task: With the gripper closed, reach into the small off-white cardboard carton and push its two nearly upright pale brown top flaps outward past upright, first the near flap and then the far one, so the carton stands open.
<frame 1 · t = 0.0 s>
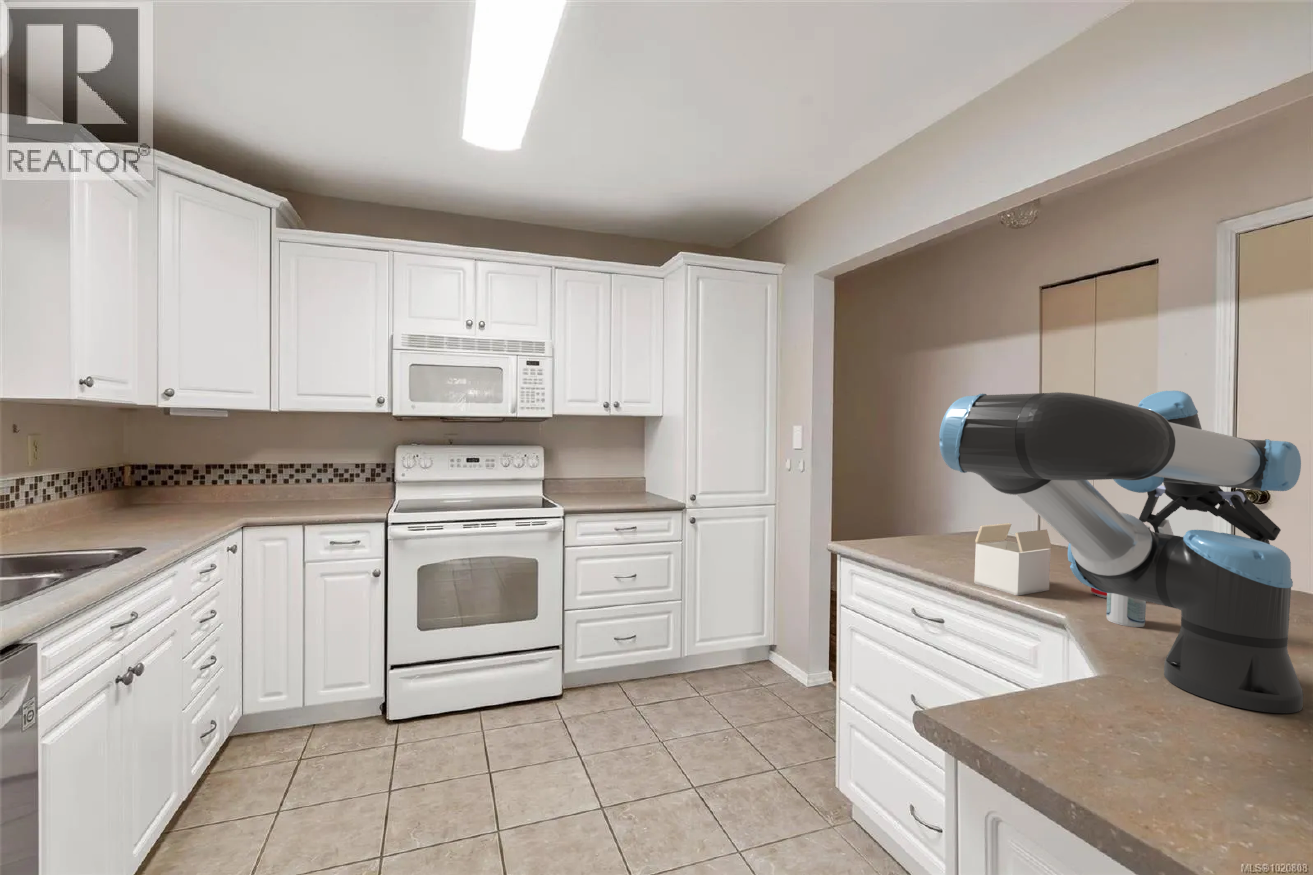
hand: (1214, 555, 114), 15 cm above the countertop, tool tilted 35°, fingers open, 13 cm apart
beverage can: (1107, 597, 139), on the countertop
near flap: (1033, 540, 141), point 12 cm above the countertop, hinge at 72.0°
spray can: (1125, 622, 121), on the countertop
carton: (1011, 586, 145), on the countertop
far flap: (993, 532, 150), point 12 cm above the countertop, hinge at 72.0°
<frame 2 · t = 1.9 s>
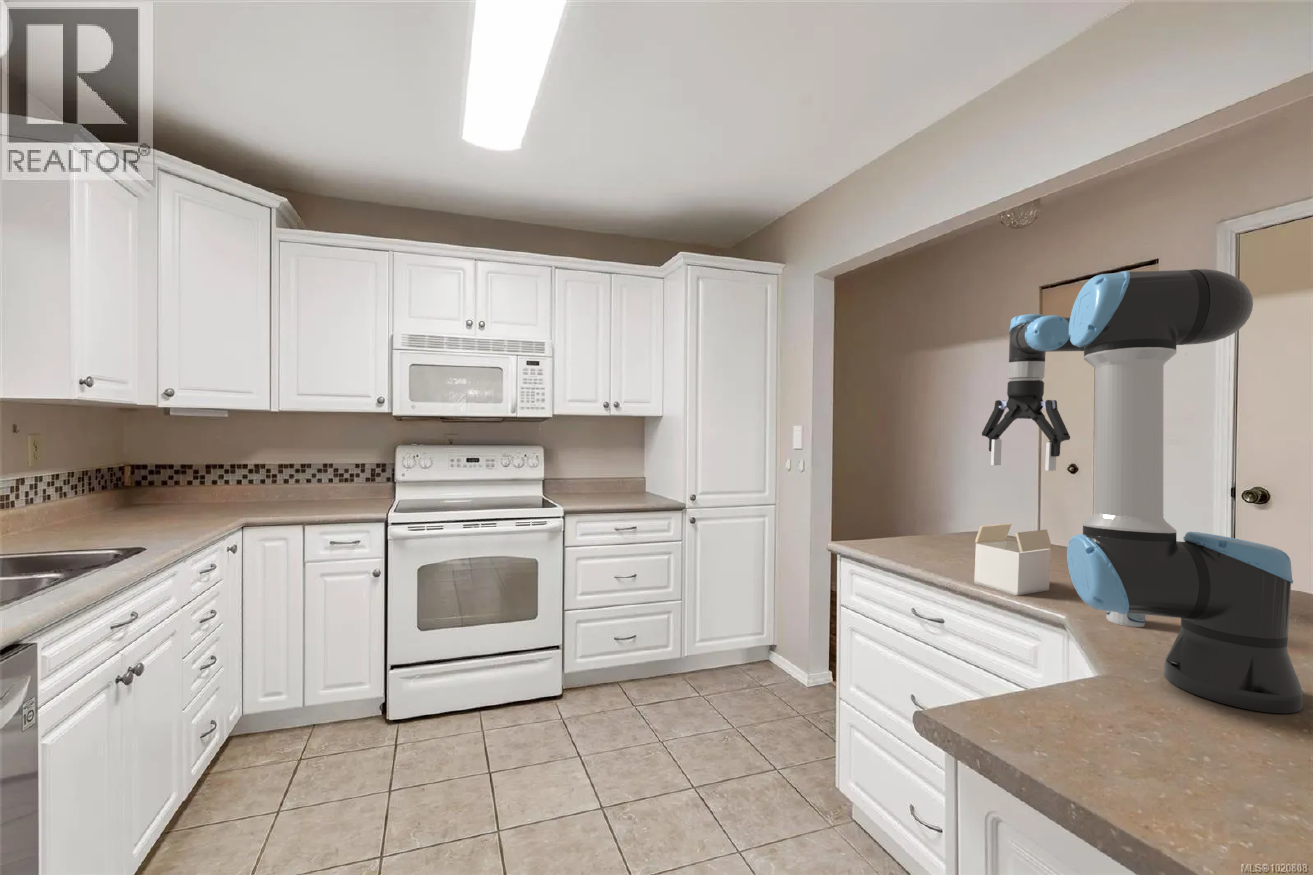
hand: (1021, 467, 144), 29 cm above the countertop, tool pointing down, fingers open, 13 cm apart
nothing on the countertop moved.
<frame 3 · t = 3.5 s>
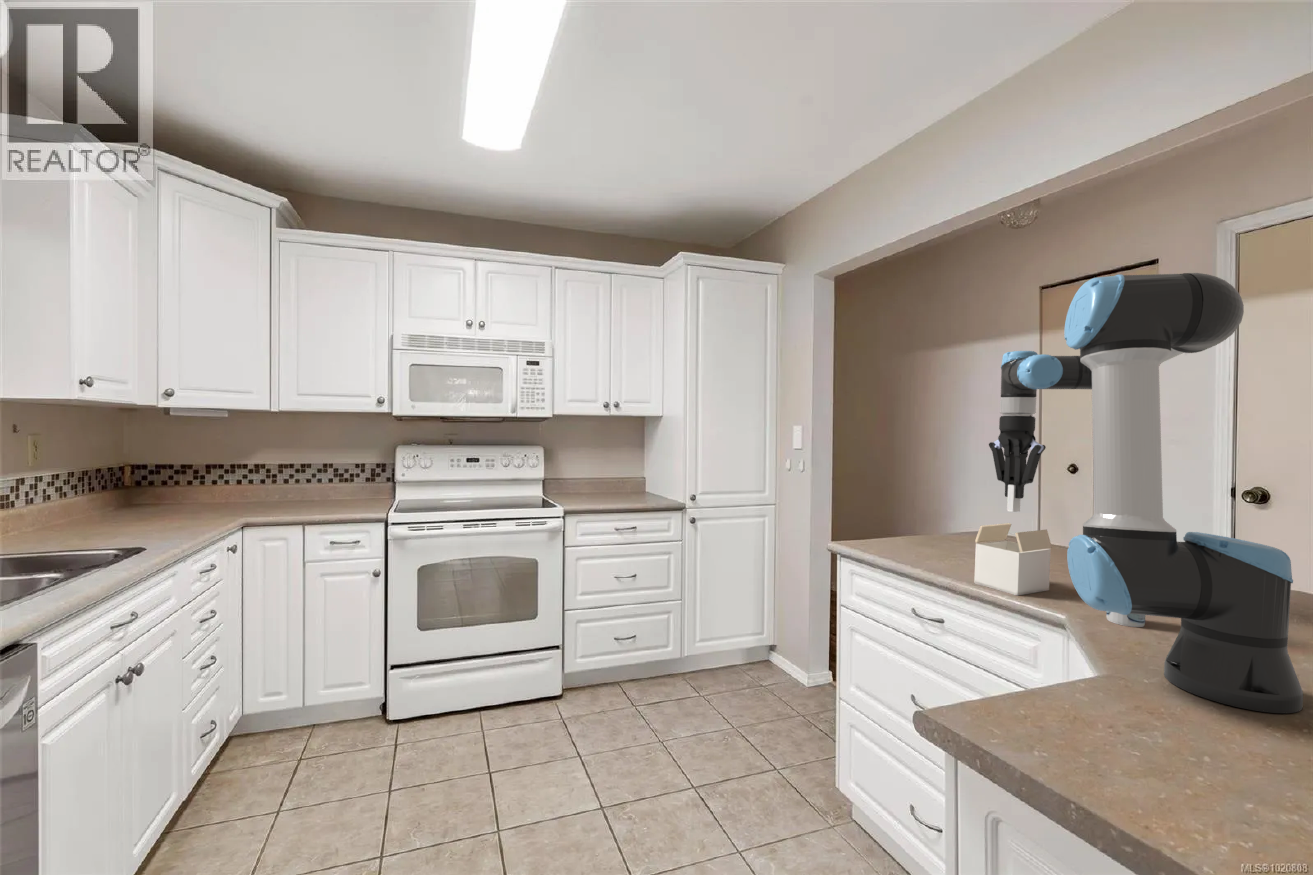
hand: (1013, 511, 145), 19 cm above the countertop, tool pointing down, fingers closed
nothing on the countertop moved.
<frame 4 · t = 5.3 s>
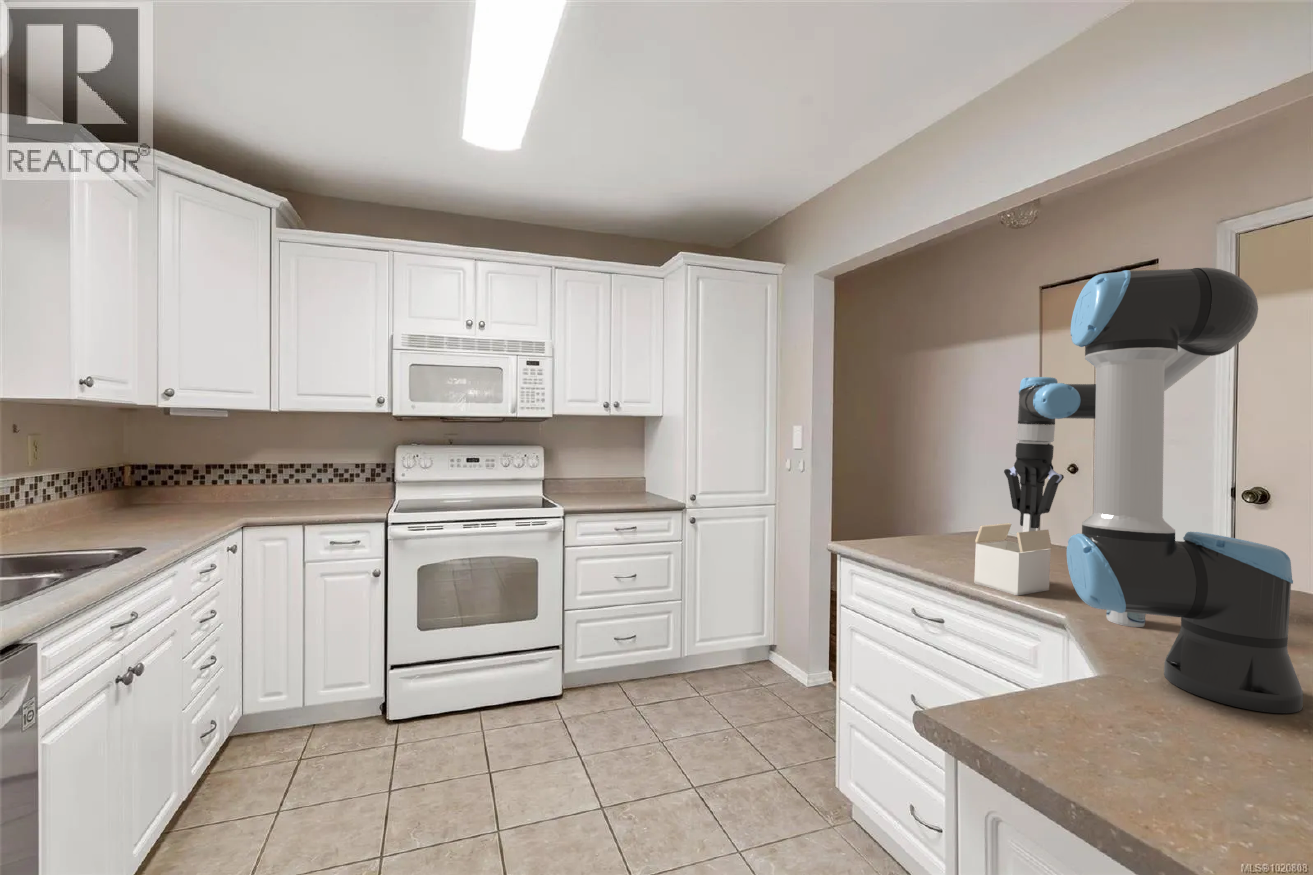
hand: (1028, 540, 141), 12 cm above the countertop, tool pointing down, fingers closed
near flap: (1034, 540, 140), point 12 cm above the countertop, hinge at 76.4°, touching gripper
everything else where it was.
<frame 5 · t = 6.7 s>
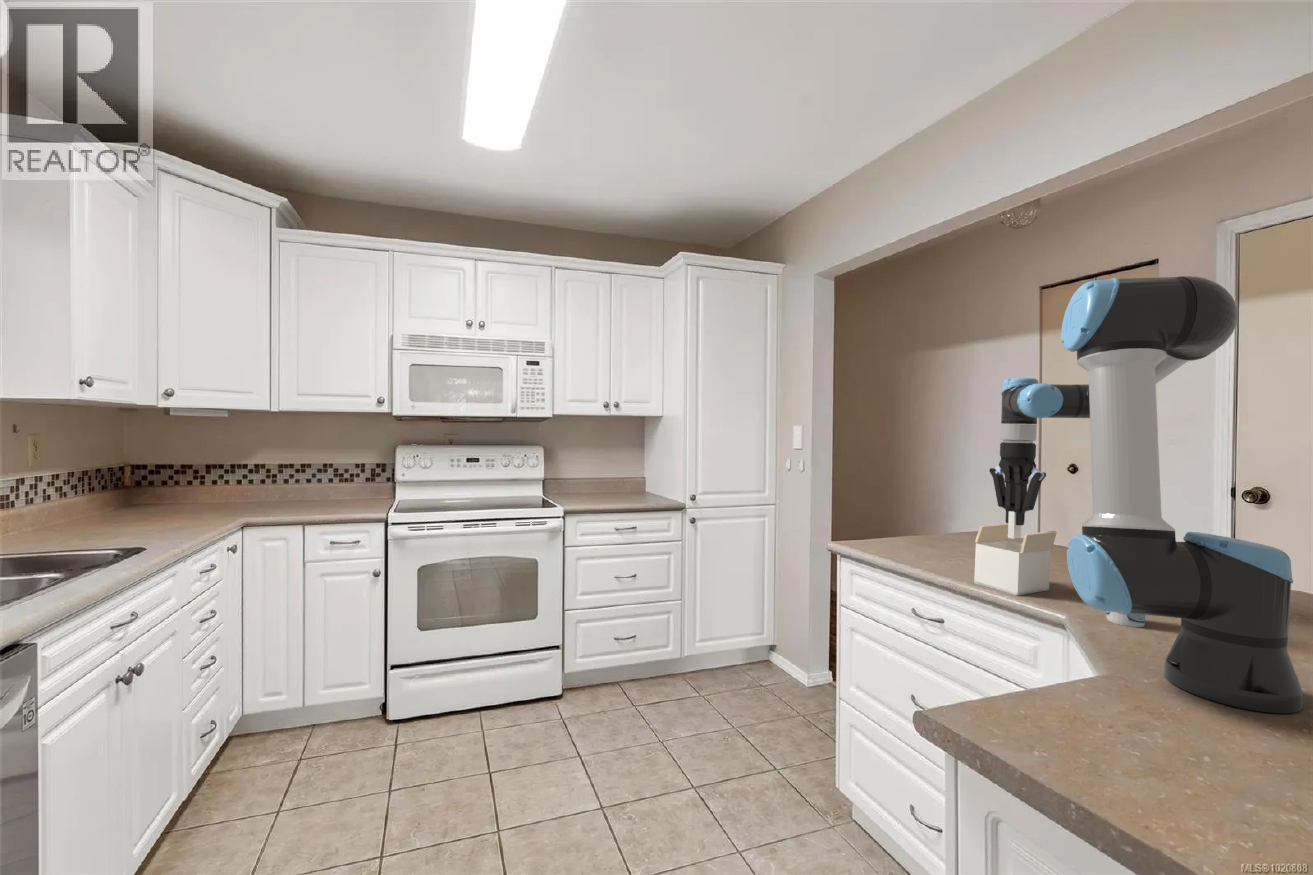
hand: (1014, 537, 145), 12 cm above the countertop, tool pointing down, fingers closed
near flap: (1038, 541, 139), point 12 cm above the countertop, hinge at 101.5°
everything else where it was.
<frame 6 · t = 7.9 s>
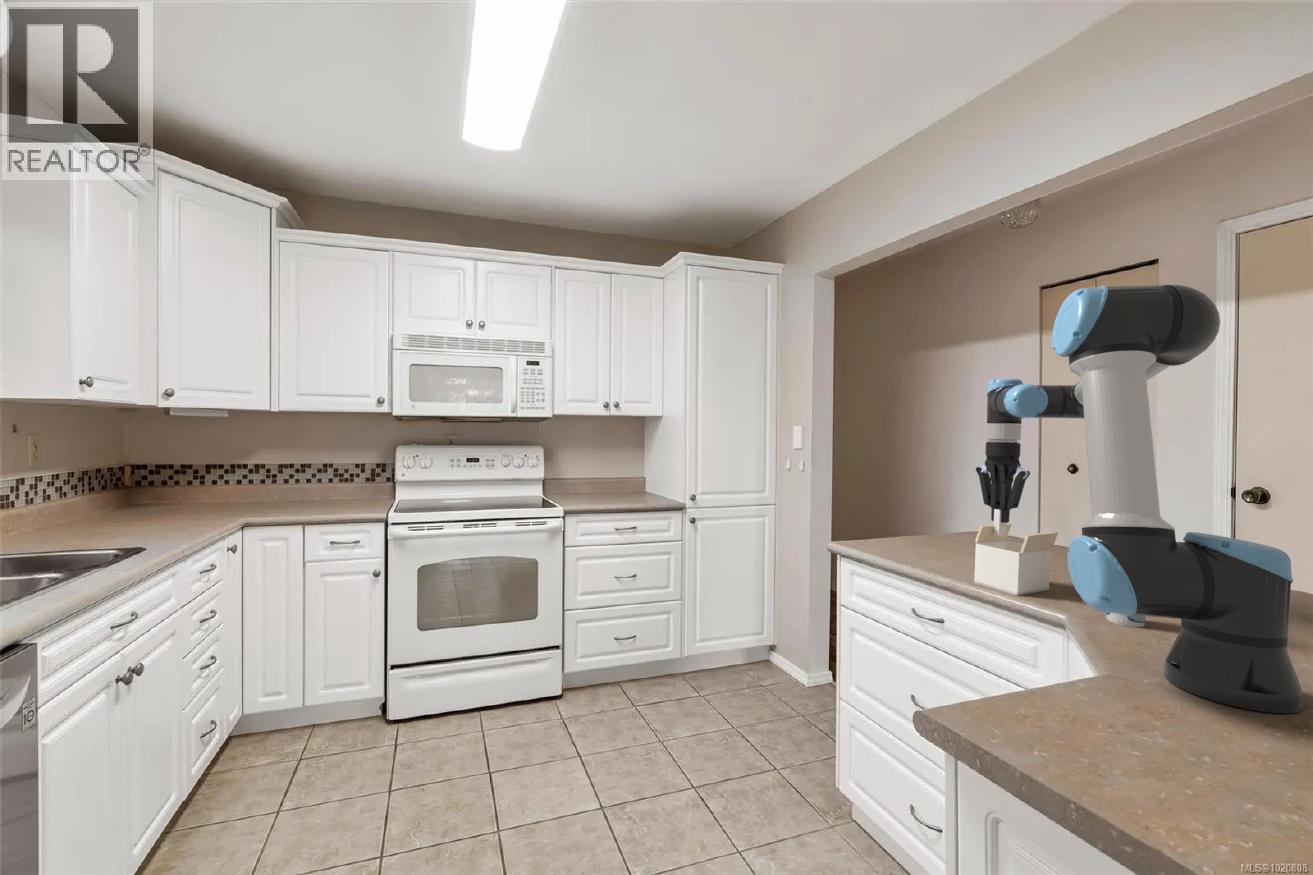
hand: (999, 534, 148), 12 cm above the countertop, tool pointing down, fingers closed
near flap: (1039, 542, 139), point 12 cm above the countertop, hinge at 106.1°
far flap: (993, 532, 150), point 12 cm above the countertop, hinge at 72.0°, touching gripper
everything else where it was.
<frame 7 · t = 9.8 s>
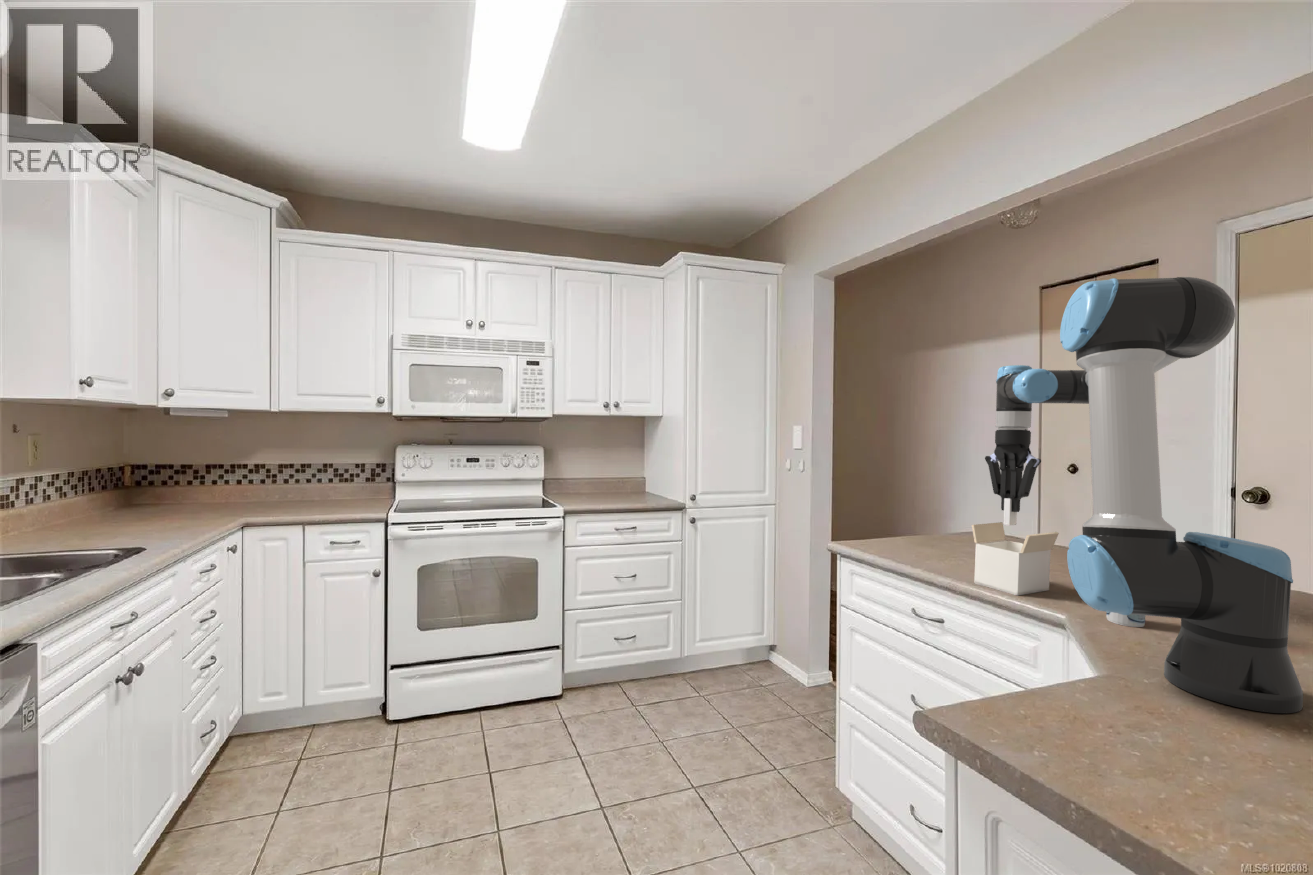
hand: (1009, 524, 146), 15 cm above the countertop, tool pointing down, fingers closed
near flap: (1039, 542, 139), point 12 cm above the countertop, hinge at 108.0°
far flap: (988, 532, 151), point 12 cm above the countertop, hinge at 103.3°
everything else where it was.
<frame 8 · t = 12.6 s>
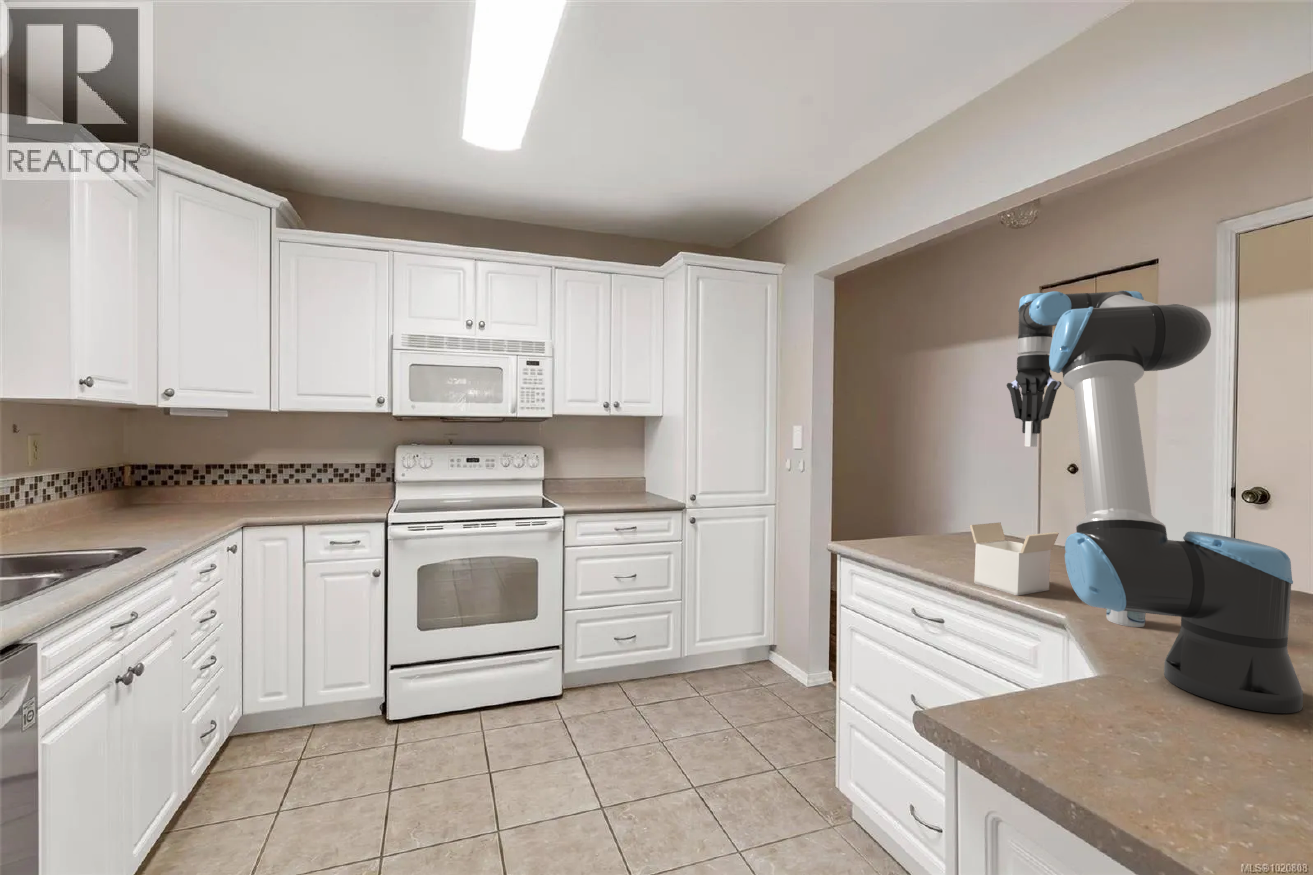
hand: (1030, 446, 153), 34 cm above the countertop, tool pointing down, fingers closed
near flap: (1039, 542, 139), point 12 cm above the countertop, hinge at 108.4°
far flap: (987, 532, 151), point 12 cm above the countertop, hinge at 110.1°
everything else where it was.
at the end: near flap at +108° (first picture: +72°); far flap at +110° (first picture: +72°) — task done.
